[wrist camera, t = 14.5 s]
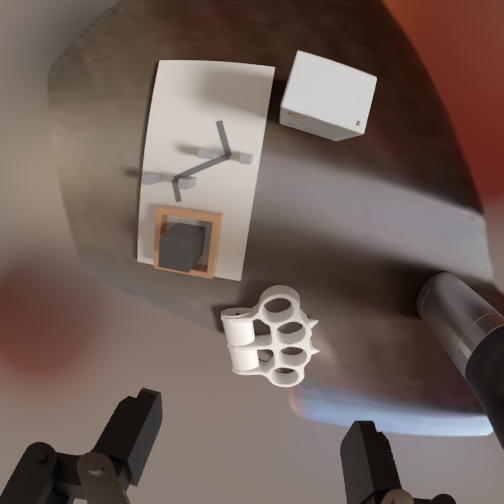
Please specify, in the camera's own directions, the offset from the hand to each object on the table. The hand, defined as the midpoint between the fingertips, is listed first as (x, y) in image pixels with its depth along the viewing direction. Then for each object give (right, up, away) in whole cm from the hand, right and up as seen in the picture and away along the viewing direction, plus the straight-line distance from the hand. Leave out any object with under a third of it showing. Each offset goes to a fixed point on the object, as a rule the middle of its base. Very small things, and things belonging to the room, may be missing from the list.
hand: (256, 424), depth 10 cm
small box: (+8, +26, +25) cm, 37 cm away
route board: (-7, +18, +28) cm, 35 cm away
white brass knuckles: (+3, -6, +37) cm, 37 cm away
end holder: (-9, +9, +32) cm, 34 cm away
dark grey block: (-9, +9, +31) cm, 33 cm away
